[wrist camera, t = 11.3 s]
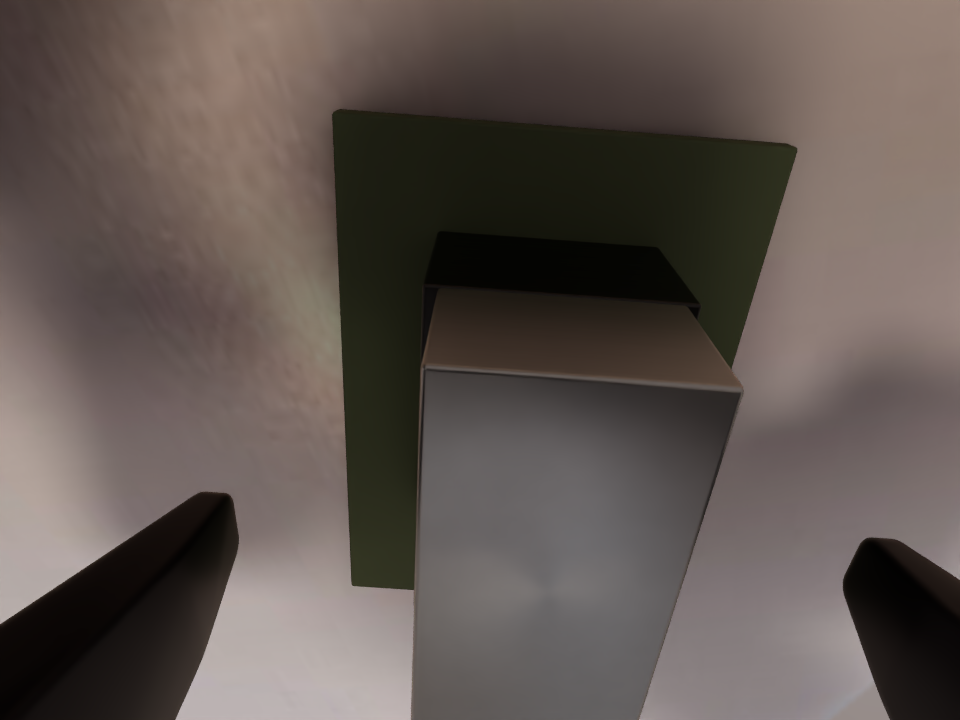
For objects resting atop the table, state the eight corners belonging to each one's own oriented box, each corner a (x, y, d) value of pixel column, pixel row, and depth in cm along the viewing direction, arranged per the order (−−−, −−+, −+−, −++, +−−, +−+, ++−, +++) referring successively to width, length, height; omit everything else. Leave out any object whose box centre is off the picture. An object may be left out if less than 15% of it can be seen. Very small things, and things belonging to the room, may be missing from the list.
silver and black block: (599, 524, 13) (646, 746, 9) (426, 512, 13) (396, 730, 9) (658, 246, 10) (767, 389, 6) (437, 229, 10) (399, 364, 6)
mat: (655, 592, 14) (660, 607, 14) (355, 573, 14) (351, 586, 14) (788, 143, 10) (799, 147, 9) (337, 108, 9) (331, 111, 9)
